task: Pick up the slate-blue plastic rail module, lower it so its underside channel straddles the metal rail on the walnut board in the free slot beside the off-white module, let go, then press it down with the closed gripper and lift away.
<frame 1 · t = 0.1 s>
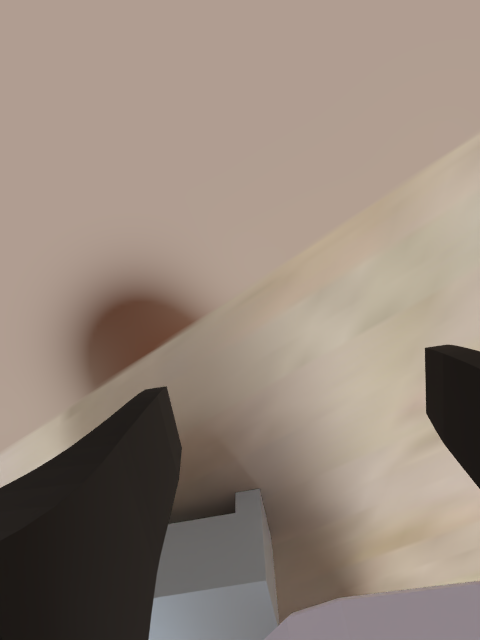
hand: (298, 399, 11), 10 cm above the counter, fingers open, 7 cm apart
module: (203, 524, 25), on the counter
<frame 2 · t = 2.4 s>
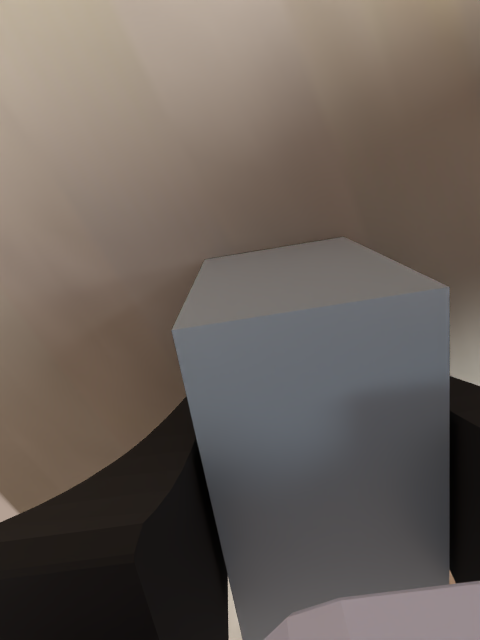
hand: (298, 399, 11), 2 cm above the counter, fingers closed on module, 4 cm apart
module: (290, 373, 13), on the counter, touching gripper
when the fingers open (3 cm above the counter, at t = 5.4 s): module stays where it is, resting on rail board.
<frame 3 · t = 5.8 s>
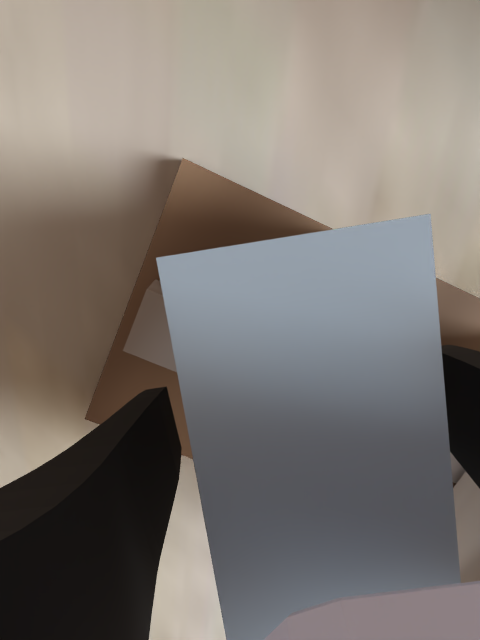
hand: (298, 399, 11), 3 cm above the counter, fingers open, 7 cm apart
module: (294, 376, 12), point 2 cm above the counter, tilted 10°, touching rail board
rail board: (361, 387, 14), on the counter
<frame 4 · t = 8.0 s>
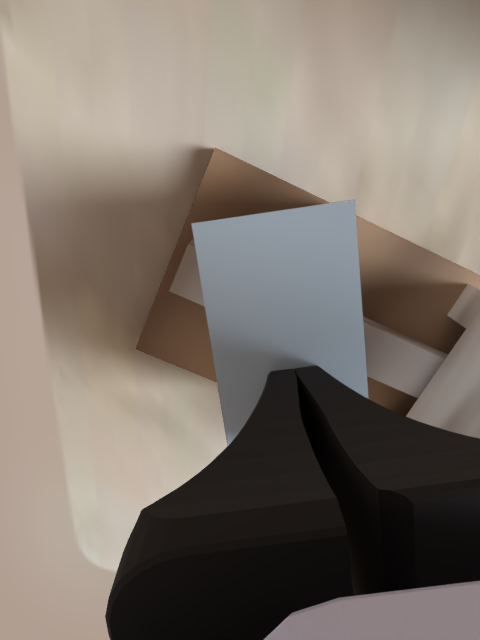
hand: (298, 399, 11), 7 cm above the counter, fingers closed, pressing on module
module: (297, 312, 16), point 2 cm above the counter, tilted 10°, touching gripper, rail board
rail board: (349, 329, 18), on the counter
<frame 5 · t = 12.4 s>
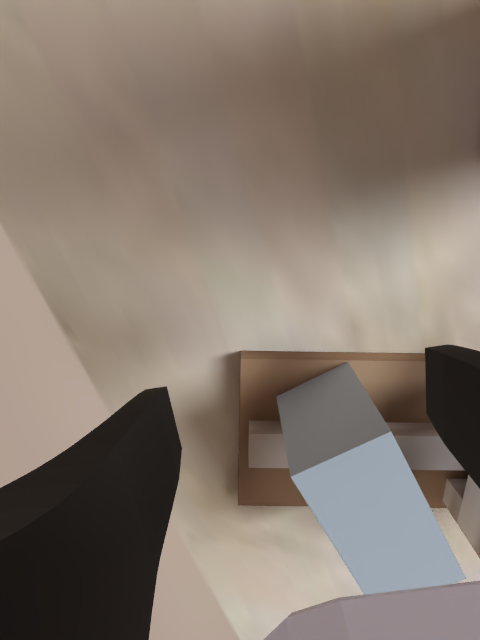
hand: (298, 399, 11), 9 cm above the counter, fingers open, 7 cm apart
module: (344, 438, 21), point 1 cm above the counter, touching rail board
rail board: (392, 428, 22), on the counter
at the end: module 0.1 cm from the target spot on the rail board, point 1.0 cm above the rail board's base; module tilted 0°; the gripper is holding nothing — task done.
